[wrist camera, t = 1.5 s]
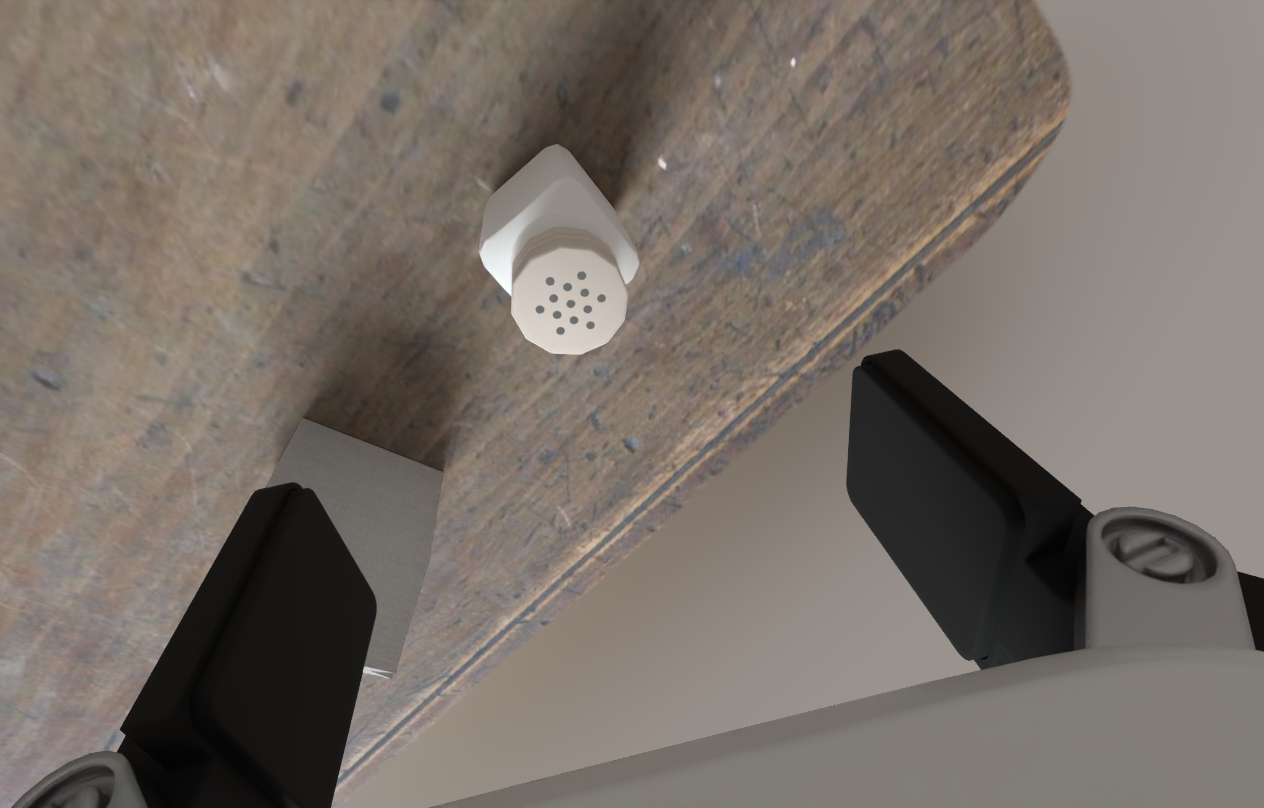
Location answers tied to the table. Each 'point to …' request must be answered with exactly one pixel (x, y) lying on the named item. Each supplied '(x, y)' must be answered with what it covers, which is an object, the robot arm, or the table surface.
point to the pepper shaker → (559, 254)
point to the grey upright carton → (371, 521)
